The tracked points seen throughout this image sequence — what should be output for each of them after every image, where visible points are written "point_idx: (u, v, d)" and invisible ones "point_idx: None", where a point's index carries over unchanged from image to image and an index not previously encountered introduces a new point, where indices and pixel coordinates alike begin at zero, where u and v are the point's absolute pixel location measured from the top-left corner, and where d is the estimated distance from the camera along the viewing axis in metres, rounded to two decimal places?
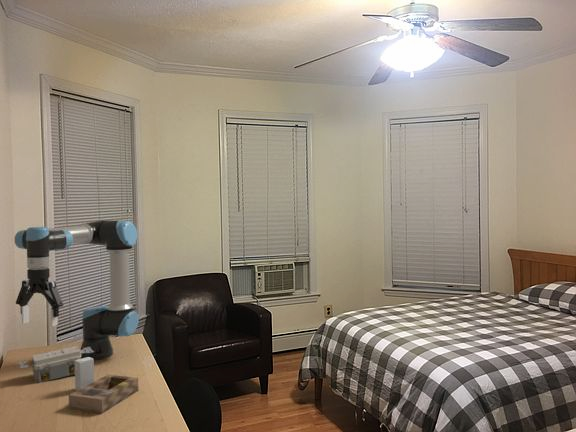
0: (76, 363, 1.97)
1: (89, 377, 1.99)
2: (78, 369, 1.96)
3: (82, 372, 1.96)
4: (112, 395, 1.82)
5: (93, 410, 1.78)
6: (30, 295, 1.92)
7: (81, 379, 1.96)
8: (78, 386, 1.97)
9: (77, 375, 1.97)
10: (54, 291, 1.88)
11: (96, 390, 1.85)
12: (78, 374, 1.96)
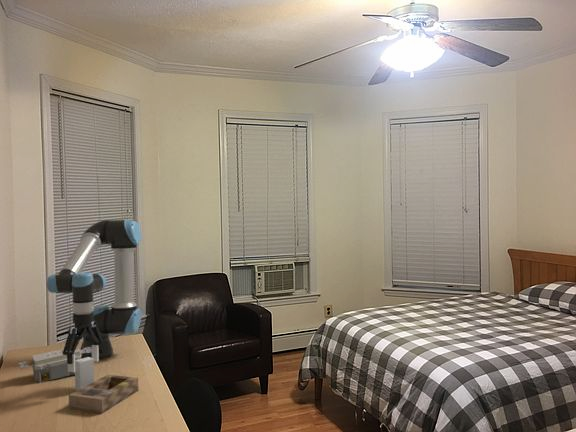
0: (76, 363, 1.97)
1: (89, 377, 1.99)
2: (78, 369, 1.96)
3: (82, 372, 1.96)
4: (112, 395, 1.82)
5: (93, 410, 1.78)
6: (89, 336, 2.02)
7: (81, 379, 1.96)
8: (78, 386, 1.97)
9: (77, 375, 1.97)
10: (68, 338, 1.91)
11: (96, 390, 1.85)
12: (78, 374, 1.96)
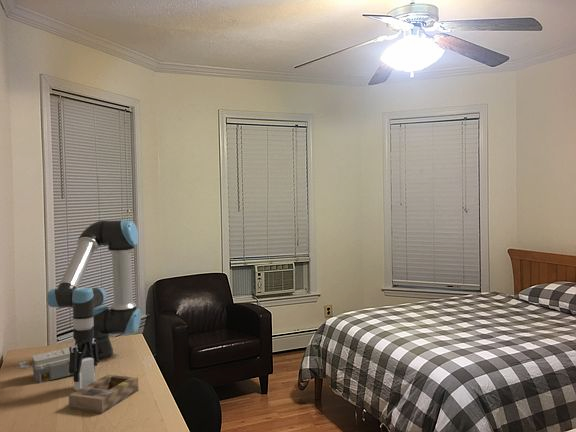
0: None
1: (89, 376, 1.99)
2: None
3: (82, 372, 1.96)
4: (112, 395, 1.82)
5: (93, 410, 1.78)
6: (87, 354, 2.01)
7: (81, 379, 1.96)
8: None
9: None
10: (71, 357, 1.93)
11: (96, 390, 1.85)
12: None
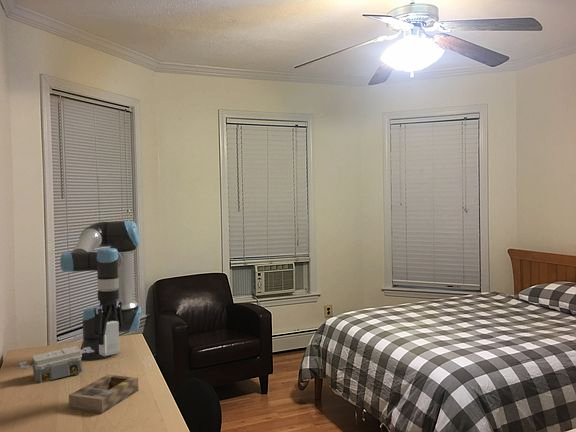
0: None
1: (114, 340, 1.91)
2: None
3: (107, 335, 1.89)
4: (112, 395, 1.82)
5: (93, 410, 1.78)
6: (112, 317, 1.94)
7: (106, 342, 1.88)
8: None
9: None
10: (96, 319, 1.85)
11: (96, 390, 1.85)
12: None
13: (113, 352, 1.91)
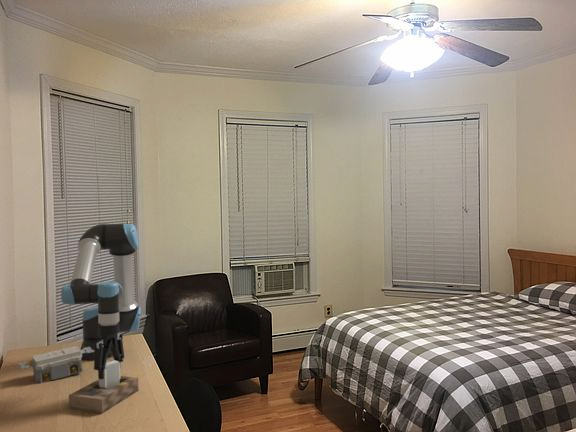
0: None
1: (115, 380, 1.91)
2: None
3: (108, 376, 1.89)
4: (112, 395, 1.82)
5: (93, 410, 1.78)
6: (113, 350, 1.94)
7: (107, 383, 1.89)
8: None
9: None
10: (96, 353, 1.85)
11: (96, 390, 1.85)
12: None
13: None
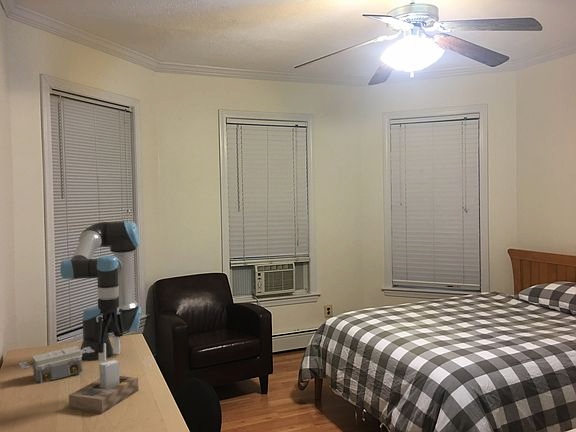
0: (101, 367, 1.89)
1: (114, 380, 1.91)
2: (104, 373, 1.89)
3: (108, 376, 1.89)
4: (112, 395, 1.82)
5: (93, 410, 1.78)
6: (113, 324, 1.94)
7: (107, 383, 1.89)
8: None
9: (102, 379, 1.90)
10: (96, 327, 1.85)
11: (96, 390, 1.85)
12: (104, 378, 1.89)
13: None
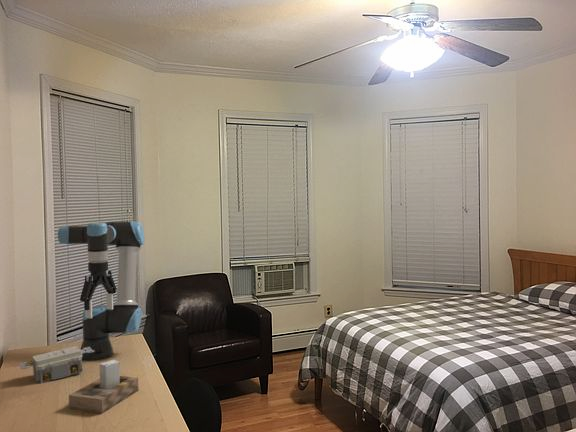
0: (101, 366, 1.90)
1: (115, 380, 1.91)
2: (104, 373, 1.89)
3: (108, 376, 1.89)
4: (112, 395, 1.82)
5: (93, 410, 1.78)
6: (104, 285, 2.08)
7: (107, 383, 1.89)
8: None
9: (103, 379, 1.90)
10: (85, 285, 1.97)
11: (96, 390, 1.85)
12: (104, 378, 1.89)
13: None
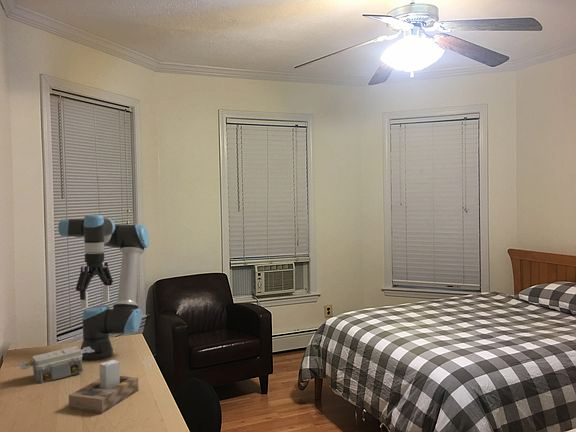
0: (101, 366, 1.90)
1: (115, 380, 1.91)
2: (104, 373, 1.89)
3: (108, 376, 1.89)
4: (112, 395, 1.82)
5: (93, 410, 1.78)
6: (100, 276, 2.12)
7: (107, 383, 1.89)
8: None
9: (103, 379, 1.90)
10: (81, 275, 2.01)
11: (96, 390, 1.85)
12: (104, 378, 1.89)
13: None
